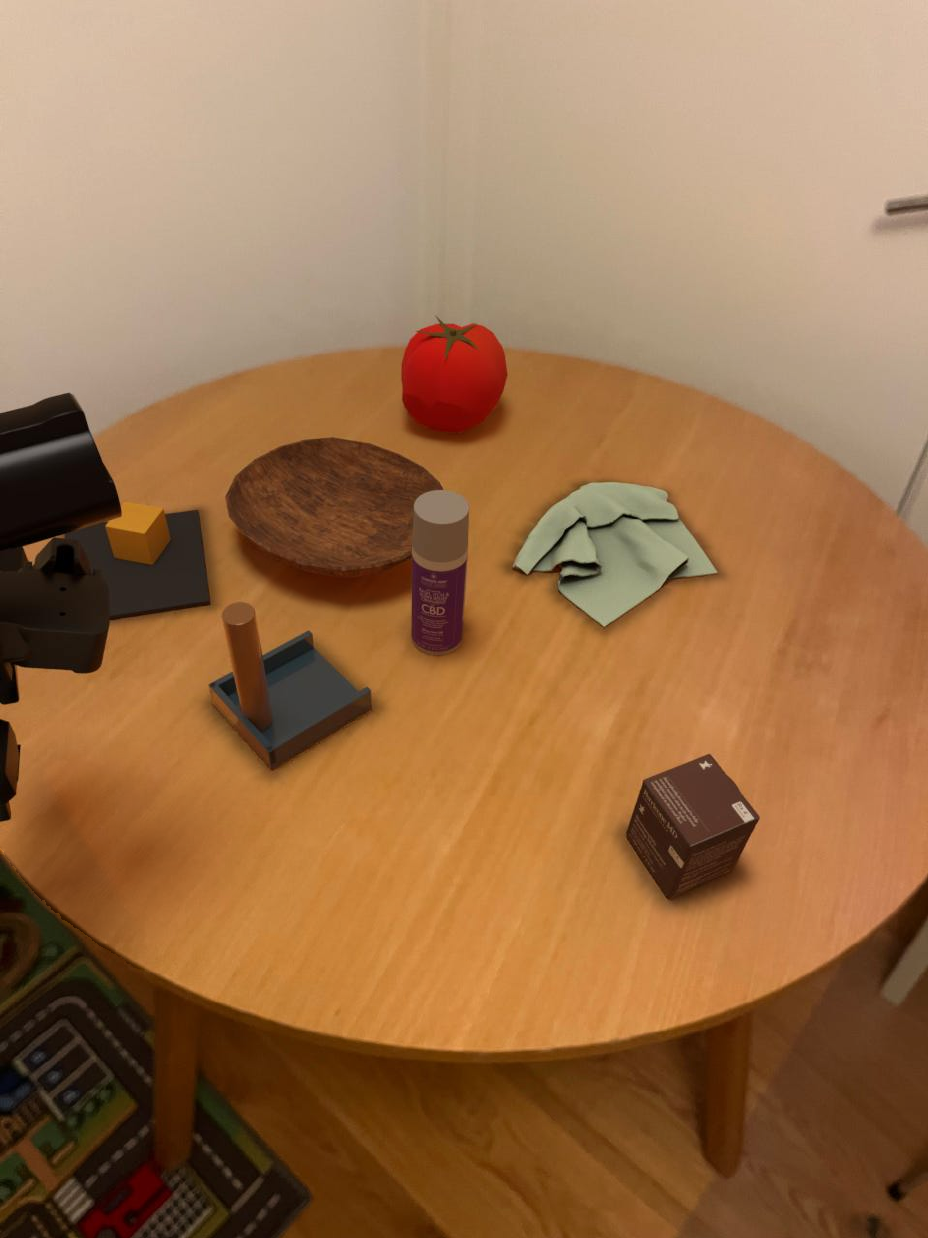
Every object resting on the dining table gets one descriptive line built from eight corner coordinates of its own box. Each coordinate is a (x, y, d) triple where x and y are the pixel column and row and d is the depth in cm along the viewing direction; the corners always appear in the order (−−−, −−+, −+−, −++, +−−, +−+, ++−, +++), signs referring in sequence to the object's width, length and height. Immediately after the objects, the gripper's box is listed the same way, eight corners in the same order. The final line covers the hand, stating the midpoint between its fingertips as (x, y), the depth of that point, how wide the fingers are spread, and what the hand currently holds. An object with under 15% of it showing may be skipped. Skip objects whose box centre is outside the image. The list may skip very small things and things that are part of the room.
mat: (62, 627, 83) (61, 623, 82) (66, 530, 92) (64, 527, 92) (210, 604, 86) (209, 600, 85) (198, 513, 95) (198, 509, 95)
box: (623, 834, 70) (640, 777, 65) (688, 807, 72) (710, 750, 67) (667, 901, 66) (690, 847, 61) (735, 871, 68) (762, 816, 63)
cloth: (670, 481, 103) (675, 463, 101) (739, 617, 87) (745, 599, 86) (490, 490, 100) (492, 471, 98) (529, 632, 85) (531, 614, 83)
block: (144, 533, 85) (163, 507, 88) (104, 525, 86) (125, 500, 89) (152, 565, 88) (171, 539, 91) (114, 558, 89) (133, 532, 92)
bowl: (320, 454, 103) (317, 416, 100) (483, 529, 95) (486, 490, 92) (191, 544, 92) (182, 504, 88) (364, 639, 83) (362, 599, 80)
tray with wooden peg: (271, 770, 73) (251, 659, 63) (212, 703, 77) (186, 590, 68) (372, 708, 78) (367, 596, 68) (310, 648, 82) (298, 536, 73)
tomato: (376, 412, 110) (374, 322, 102) (462, 379, 116) (466, 291, 108) (440, 460, 104) (443, 368, 95) (527, 422, 110) (537, 332, 102)
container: (417, 659, 82) (419, 528, 71) (406, 623, 85) (406, 492, 74) (468, 651, 83) (477, 520, 72) (455, 615, 86) (462, 485, 75)
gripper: (78, 676, 41) (148, 858, 52) (81, 444, 54) (137, 630, 65) (-199, 723, 39) (-65, 904, 50) (-128, 469, 51) (-34, 658, 62)
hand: (6, 757), depth 57 cm, fingers open, 9 cm apart
